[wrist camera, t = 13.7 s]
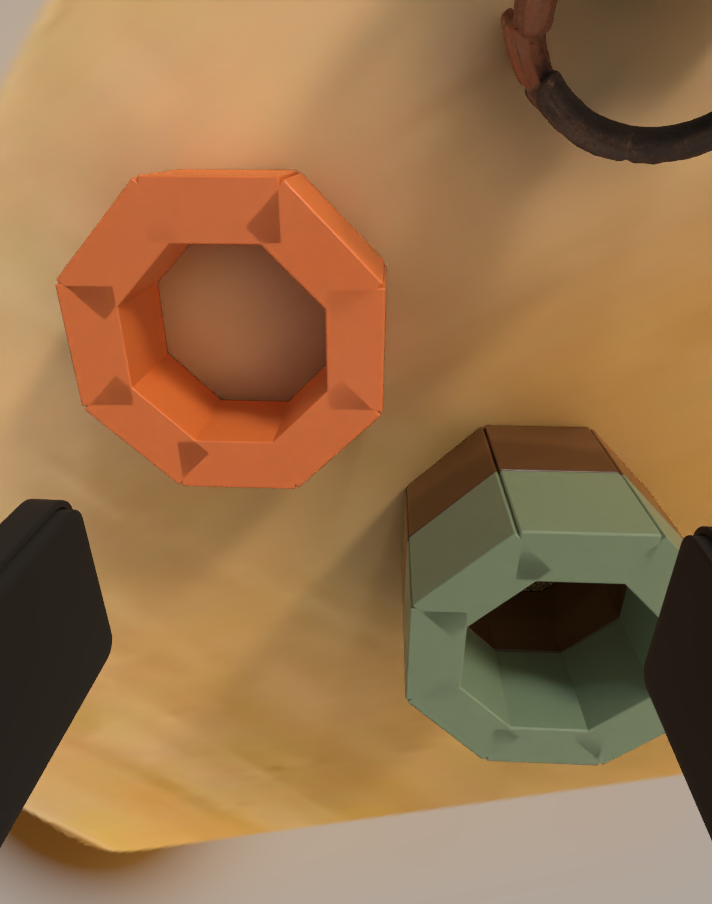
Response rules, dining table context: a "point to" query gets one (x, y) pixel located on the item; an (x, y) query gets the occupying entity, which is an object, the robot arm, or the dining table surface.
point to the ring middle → (509, 572)
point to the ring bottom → (525, 449)
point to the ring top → (172, 386)
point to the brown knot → (572, 115)
